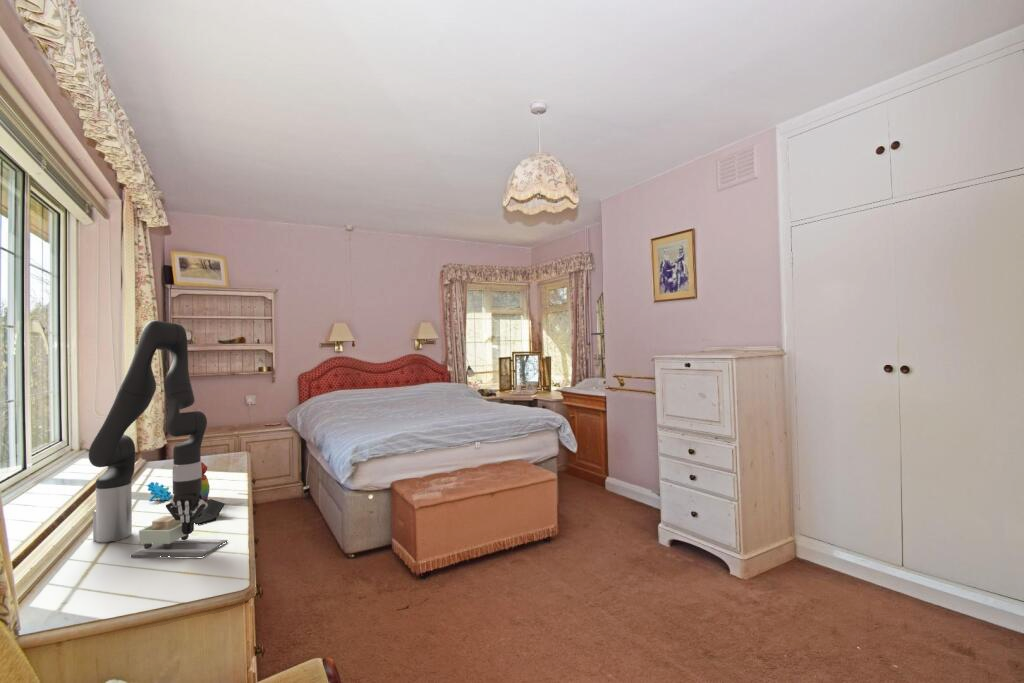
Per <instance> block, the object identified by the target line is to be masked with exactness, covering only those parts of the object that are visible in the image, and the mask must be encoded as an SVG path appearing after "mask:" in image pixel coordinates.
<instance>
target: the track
mask: <svg viewBox="0 0 1024 683" xmlns="http://www.w3.org/2000/svg"><path fill="white" fill-rule="evenodd" d="M227 541H229V540H228V539H193V538H191V539H190V538H188V539H186V540H182V539H181V538H180V539H178V540H176V541H174V542H172V547H171V548H169V549H165V548H164V544H152V546H151V547H150V548H148V549H145V548H144V547H143V548H139V549H137V551H135V552H134V553H132V554H130V558H131V557H160V556H161V557H168V556H170V557H203V556H205V555H206V554H208V553H209V554H211V553H212V552H211V551H213V550H214V551H216V550H217V549H216V548H217V547H219V546H220V545H222V544H223V543H225V542H227ZM227 543H228V542H227ZM222 546H223V545H222ZM219 548H220V547H219ZM215 549H216V550H215ZM214 551H213V552H214ZM210 552H211V553H210ZM209 554H208V555H209ZM206 556H207V555H206ZM206 556H205V557H206ZM203 558H204V557H203Z"/></svg>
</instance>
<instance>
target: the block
mask: <svg viewBox="0 0 1024 683" xmlns="http://www.w3.org/2000/svg"><path fill="white" fill-rule="evenodd" d="M151 525H152V530H171V529H173V528H175V527H177V526H179V525H180V521H179V520H177V521H176V520H175V519H174V517H173V516H172V515H163V516H162V517H159V518H157V519H154V520H152V521H151Z"/></svg>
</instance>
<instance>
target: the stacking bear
mask: <svg viewBox="0 0 1024 683" xmlns="http://www.w3.org/2000/svg"><path fill="white" fill-rule="evenodd" d="M201 468H202V490H201V496H202V500H203V501H204V502H208V501H209V500H210V499H208V497H209V494H210V490H211V489H210V483H209V479H208V477H207V476H208V475H206V472H207V471H208V466H207V465H206V464H205V463H204V462H203V461H201ZM197 509H198V506H197Z"/></svg>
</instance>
